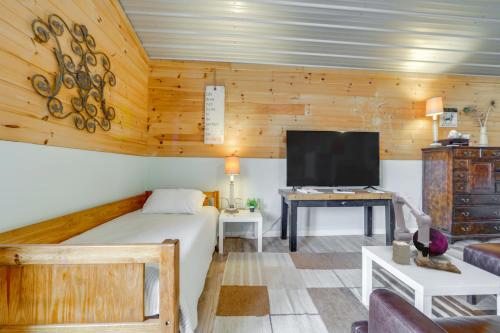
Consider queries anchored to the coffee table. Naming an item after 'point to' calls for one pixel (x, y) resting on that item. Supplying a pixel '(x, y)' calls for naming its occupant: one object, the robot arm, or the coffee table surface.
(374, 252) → the coffee table surface
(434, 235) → the decorative sphere
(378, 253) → the coffee table surface
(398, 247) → the supplement box
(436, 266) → the pin board
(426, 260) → the sleeve
